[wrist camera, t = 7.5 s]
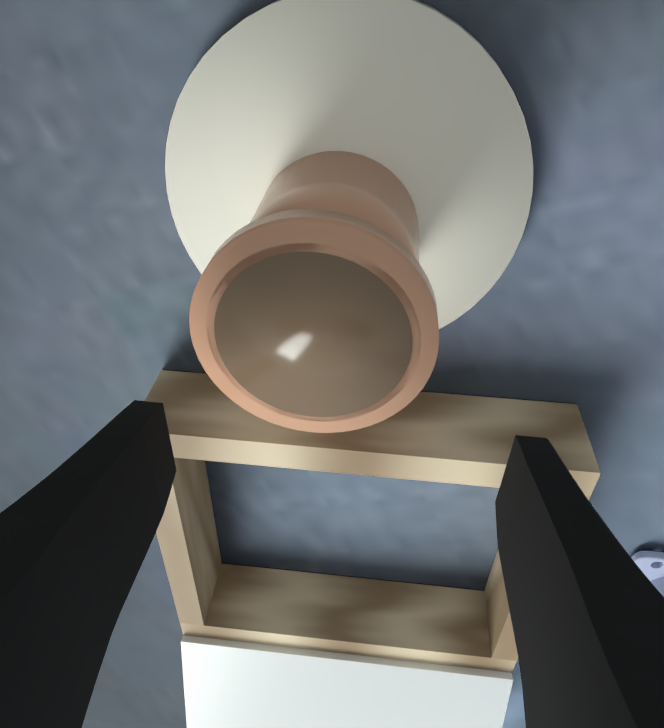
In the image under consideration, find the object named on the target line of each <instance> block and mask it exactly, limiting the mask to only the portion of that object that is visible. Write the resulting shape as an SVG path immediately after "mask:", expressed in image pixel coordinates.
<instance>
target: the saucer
mask: <svg viewBox="0 0 664 728" xmlns="http://www.w3.org/2000/svg"><path fill="white" fill-rule="evenodd" d="M325 151H345V152H352V153H356V154H360V155H363V156H366V157H368V158H371V159H373V160H375V161H377V162H378V163H380V164H382V165H383V166H385V167H386V168H387V169H389V170H390V171H391V172H392V173H393V174H394V175H395V176H396V177H397V178H398V179H399V180H400V181H401V182H402V184H403V185H404V186H405V187H406V189H407V191H408V193H409V194H410V196H411V198H412V201H413V203H414V206H415V209H416V213H417V217H418V229H419V264H420V265H421V267H422V269H423V270H424V272H425V274H426V275H427V277H428V279H429V282H430V284H431V286H432V289H433V291H434V295H435V299H436V303H437V313H438V326H439V329H441V328H442V327H444V326H446V325H448V324H449V323H451V322H453V321H455V320H456V319H457V318H459V317H460V316H461V315H463V314H464V313H465V312H467V311H468V310H469V309H471V308H472V307H473V306H474V305H475V304H476V303H477V302H478V301H479V300H480V299H481V298H482V297H483V296H484V295H486V294H487V292H488V291H489V290H490V289H491V288H492V286H493V285H494V284H495V283H496V281H497V280H498V279H499V278H500V277H501V275H502V273H503V272H504V270H505V269H506V267H507V266H508V264H509V262H510V261H511V259H512V258H513V255H514V253H515V251H516V249H517V247H518V245H519V242H520V240H521V238H522V235H523V232H524V229H525V226H526V222H527V219H528V216H529V211H530V205H531V199H532V193H533V158H532V149H531V141H530V137H529V133H528V130H527V126H526V122H525V118H524V115H523V113H522V110H521V108H520V106H519V103H518V101H517V99H516V96H515V94H514V92H513V90H512V88H511V86H510V85H509V83H508V81H507V80H506V78H505V77H504V75H503V73H502V72H501V70H500V68H499V67H498V65H497V63H496V62H495V61H494V59H493V58H492V57H491V56H490V55H489V53H488V52H487V51H486V50H485V49H484V47H483V46H482V45H481V44H480V43H479V41H477V40H476V39H475V38H474V37H473V36H472V35H471V34H470V33H468V32H467V31H466V30H465V29H464V28H463V27H462V26H461V25H459V24H458V23H457V22H455V21H454V20H452V19H451V18H449V17H448V16H446V15H444V14H443V13H441V12H440V11H438V10H437V9H435V8H433V7H431V6H429V5H427V4H424V3H422V2H420V1H418V0H278V1H275V2H273V3H271V4H269V5H267V6H266V7H264V8H262V9H260V10H258V11H257V12H255V13H253V14H251V15H250V16H248V17H246V18H245V19H243V20H242V21H241V22H240V23H238V24H237V25H236V26H234V27H233V28H232V29H231V30H229V31H228V32H227V33H225V34H224V35H223V36H222V37H221V38H220V39H219V40H218V41H217V42H216V43H215V44H214V45H213V46H212V47H211V48H210V49H209V51H208V52H207V53H206V54H205V55H204V56H203V57H202V59H201V60H200V62H199V63H198V65H197V66H196V68H195V69H194V70H193V72H192V73H191V75H190V76H189V78H188V80H187V82H186V84H185V86H184V88H183V90H182V92H181V94H180V96H179V98H178V101H177V104H176V107H175V110H174V113H173V116H172V119H171V122H170V127H169V133H168V138H167V144H166V159H165V175H166V186H167V195H168V199H169V204H170V208H171V213H172V216H173V219H174V222H175V225H176V228H177V230H178V233H179V236H180V238H181V240H182V242H183V244H184V246H185V248H186V250H187V252H188V254H189V256H190V257H191V259H192V260H193V262H194V264H195V265H196V267H197V268H198V270H199V271H200V273H201V274H202V273H203V272H204V270H205V268H206V267H207V265H208V263H209V262H210V260H211V258H212V257H213V255H214V254H215V252H216V251H217V249H218V248H219V247H220V246H221V245H222V244H223V243H224V242H225V240H226V239H228V238H229V237H230V236H231V235H232V234H234V233H235V232H236V231H237V230H239V229H241V228H242V227H244V226H245V225H247V224H249V223H250V221H251V219H252V218H253V216H254V214H255V212H256V210H257V208H258V206H259V204H260V202H261V200H262V199H263V197H264V195H265V193H266V191H267V189H268V187H269V186H270V184H271V183H272V181H273V180H274V179H275V178H276V177H277V175H278V174H279V173H280V172H281V171H283V170H284V169H285V168H286V167H287V166H289V165H290V164H292V163H293V162H295V161H296V160H299V159H301V158H303V157H305V156H308V155H311V154H315V153H319V152H325Z"/></svg>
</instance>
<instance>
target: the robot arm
mask: <svg viewBox="0 0 664 728" xmlns="http://www.w3.org/2000/svg"><path fill="white" fill-rule="evenodd" d="M176 471H177V470H176V465H175V460H174V455H173V450H172V445H171V440H170V435H169V430H168V425H167V420H166V416H165V411H164V406H163V403H159V402H148V401H137V400H134V401H133V402H132V403H131V404H130V405H129V406H127V407H126V408H125V409H124V410H123V411H122V412H120V413H119V414H118V415H117V416H116V417H115V418H114V419H113V420H112V421H110V422H109V423H108V424H107V425H106V426H105V427H104V428H103V429H102V430H100V431H99V432H98V433H97V434H96V435H95V436H94V437H93V438H92V439H90V440H89V441H88V442H87V443H86V444H85V445H84V446H83V447H81V448H80V449H79V450H78V451H77V452H76V453H74V454H73V455H72V456H71V457H70V458H69V459H67V460H66V461H65V462H64V463H63V464H62V465H60V466H59V467H58V468H57V469H56V470H55V471H53V472H52V473H51V474H50V475H49V476H47V477H46V478H45V479H44V480H42V481H41V482H40V483H39V484H37V485H36V486H35V487H34V488H32V489H31V490H30V491H29V492H27V493H26V494H25V495H23V496H22V497H21V498H20V499H18V500H17V501H16V502H15V503H13V504H12V505H11V506H9V507H8V508H7V509H5V510H4V511H3V512H1V513H0V728H81V727H82V724H83V721H84V718H85V714H86V711H87V708H88V705H89V702H90V698H91V695H92V692H93V689H94V685H95V682H96V679H97V676H98V673H99V670H100V667H101V664H102V661H103V658H104V655H105V652H106V649H107V646H108V643H109V640H110V637H111V634H112V632H113V629H114V627H115V624H116V622H117V619H118V617H119V614H120V612H121V609H122V607H123V605H124V603H125V600H126V598H127V596H128V594H129V591H130V589H131V587H132V585H133V582H134V580H135V578H136V576H137V573H138V571H139V569H140V567H141V565H142V562H143V560H144V558H145V556H146V553H147V551H148V549H149V547H150V544H151V542H152V540H153V537H154V535H155V533H156V531H157V528H158V526H159V524H160V521H161V519H162V517H163V514H164V511H165V508H166V505H167V501H168V498H169V495H170V492H171V488H172V485H173V481H174V478H175V474H176ZM495 505H496V523H497V538H498V551H499V556H500V562H501V567H502V573H503V578H504V584H505V589H506V595H507V600H508V605H509V611H510V616H511V621H512V626H513V632H514V637H515V642H516V648H517V653H518V658H519V665H520V672H521V679H522V688H523V699H524V710H525V721H526V728H664V552H655V551H639V552H637V553H635V554H634V555H633V556H632V558H631V557H630V556H629V555H628V553H627V552H626V551H625V549H624V548H623V547H622V545H621V544H620V543H619V542H618V540H617V539H616V538H615V536H614V535H613V534H612V532H611V531H610V529H609V528H608V527H607V525H606V524H605V523H604V521H603V520H602V518H601V517H600V516H599V514H598V513H597V512H596V510H595V509H594V507H593V506H592V505H591V503H590V502H589V500H588V499H587V497H586V496H585V494H584V493H583V491H582V490H581V488H580V487H579V485H578V484H577V483H576V481H575V480H574V478H573V476H572V475H571V473H570V472H569V470H568V469H567V467H566V466H565V464H564V463H563V461H562V460H561V458H560V456H559V455H558V453H557V452H556V450H555V449H554V447H553V445H552V444H551V442H550V441H549V440H548V439H547V438H542V437H531V436H520V435H515V438H514V442H513V445H512V448H511V452H510V455H509V458H508V462H507V465H506V468H505V472H504V475H503V478H502V482H501V485H500V488H499V492H498V495H497V498H496V502H495Z"/></svg>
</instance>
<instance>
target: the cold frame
mask: <svg viewBox="0 0 664 728" xmlns="http://www.w3.org/2000/svg"><path fill="white" fill-rule="evenodd" d="M145 401H148V402H159V403H163V406H164V411H165V416H166V420H167V425H168V430H169V435H170V440H171V445H172V450H173V455H174V460H175V465H176V470H177V471H176V474H175V478H174V481H173V485H172V488H171V492H170V495H169V498H168V501H167V505H166V508H165V511H164V514H163V517H162V519H161V521H160V524H159V526H158V528H157V531H156V534H157V538H158V541H159V545H160V549H161V553H162V556H163V560H164V564H165V568H166V572H167V575H168V579H169V583H170V587H171V590H172V594H173V598H174V602H175V606H176V609H177V613H178V617H179V621H180V624H181V628H182V632H183V637H182V640H181V652H182V666H183V680H184V694H185V708H186V722H187V728H502V726H503V722H504V718H505V713H506V709H507V705H508V700H509V696H510V692H511V688H512V683H513V676H512V671H513V669H514V667H515V664H516V662H517V660H518V653H517V648H516V642H515V637H514V632H513V626H512V621H511V616H510V611H509V605H508V600H507V595H506V589H505V584H504V578H503V573H502V567H501V562H500V556H499V551H498V550H497V553H496V556H495V559H494V562H493V565H492V568H491V571H490V574H489V577H488V581H487V584H486V587H485V590H484V591H479V590H470V589H460V588H451V587H441V586H432V585H422V584H413V583H403V582H394V581H384V580H375V579H365V578H356V577H346V576H337V575H327V574H318V573H308V572H299V571H289V570H280V569H270V568H261V567H251V566H242V565H232V564H223V563H222V562H221V556H220V550H219V544H218V538H217V531H216V525H215V519H214V513H213V507H212V501H211V494H210V488H209V482H208V476H207V470H206V463H205V460H206V461H217V462H228V463H238V464H249V465H260V466H271V467H281V468H292V469H303V470H314V471H324V472H335V473H346V474H357V475H367V476H378V477H389V478H399V479H410V480H421V481H432V482H442V483H453V484H464V485H475V486H485V487H496V488H500V485H501V482H502V478H503V475H504V472H505V468H506V465H507V462H508V458H509V455H510V452H511V448H512V445H513V442H514V438H515V435H520V436H531V437H542V438H547V439H548V440H549V441H550V442H551V444H552V445H553V447H554V449H555V450H556V452H557V453H558V455H559V456H560V458H561V460H562V461H563V463H564V464H565V466H566V467H567V469H568V470H569V472H570V473H571V475H572V476H573V478H574V480H575V481H576V483H577V484H578V485H579V487H580V488H581V490H582V491H583V493H584V494H585V496H586V497H587V499H588V500H589V499H590V496H591V494H592V492H593V490H594V487H595V485H596V483H597V481H598V478H599V476H600V474H601V472H600V469H599V466H598V463H597V460H596V457H595V454H594V451H593V449H592V446H591V443H590V440H589V437H588V434H587V431H586V428H585V425H584V422H583V419H582V416H581V413H580V410H579V408H578V405H577V404H566V403H554V402H542V401H530V400H518V399H506V398H494V397H482V396H469V395H457V394H445V393H433V392H421V391H420V392H419V394H418V395H417V396H416V397H415V398H414V399H413V400H412V401H411V402H410V403H409V404H408V405H407V406H406V407H404V408H403V409H402V410H400V411H399V412H397V413H396V414H394V415H393V416H391V417H389V418H387V419H385V420H383V421H381V422H379V423H376V424H373V425H371V426H368V427H364V428H361V429H357V430H352V431H345V432H335V433H315V432H306V431H299V430H294V429H290V428H286V427H282V426H279V425H276V424H273V423H270V422H268V421H266V420H263V419H261V418H259V417H257V416H255V415H253V414H251V413H250V412H248V411H246V410H244V409H243V408H242V407H240V406H239V405H237V404H236V403H235V402H233V401H232V400H231V399H230V398H229V397H227V396H226V395H225V394H224V393H223V392H222V391H221V390H220V389H219V388H218V387H217V386H216V385H215V384H214V382H213V381H212V380H211V378H210V377H209V376H208V374H203V373H191V372H179V371H167V370H161V372H160V374H159V376H158V378H157V380H156V382H155V383H154V385H153V387H152V389H151V391H150V393H149V395H148V396H147V398H146V400H145Z"/></svg>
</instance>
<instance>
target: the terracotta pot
mask: <svg viewBox="0 0 664 728" xmlns="http://www.w3.org/2000/svg"><path fill="white" fill-rule="evenodd" d="M189 324H190V334H191V338H192V343H193V347H194V349H195V352H196V354H197V357H198V359H199V361H200V363H201V365H202V366H203V368H204V370H205V372H206V373H207V374H208V376H209V377H210V378H211V380H212V381H213V382H214V384H215V385H216V386H217V387H218V388H219V389H220V390H221V391H222V392H223V393H224V394H225V395H226V396H227V397H229V398H230V399H231V400H232V401H233V402H235V403H236V404H237V405H239V406H240V407H242V408H243V409H244V410H246V411H248V412H250V413H251V414H253V415H255V416H257V417H259V418H261V419H263V420H266V421H268V422H270V423H273V424H276V425H279V426H282V427H286V428H290V429H294V430H299V431H306V432H315V433H335V432H345V431H352V430H357V429H361V428H364V427H368V426H371V425H373V424H376V423H379V422H381V421H383V420H385V419H387V418H389V417H391V416H393V415H394V414H396V413H397V412H399V411H400V410H402V409H403V408H404V407H406V406H407V405H408V404H409V403H410V402H411V401H412V400H413V399H414V398H415V397H416V396H417V395H418V394H419V392H420V391H421V390H422V389H423V388H424V386H425V384H426V383H427V381H428V379H429V378H430V376H431V373H432V371H433V368H434V366H435V363H436V359H437V355H438V349H439V326H438V313H437V303H436V299H435V295H434V291H433V289H432V286H431V284H430V282H429V279H428V277H427V275H426V274H425V272H424V270H423V269H422V267H421V265H420V264H419V229H418V217H417V213H416V209H415V206H414V203H413V201H412V198H411V196H410V194H409V193H408V191H407V189H406V187H405V186H404V185H403V184H402V182H401V181H400V180H399V179H398V178H397V177H396V176H395V175H394V174H393V173H392V172H391V171H390V170H389V169H387V168H386V167H385V166H383V165H382V164H380V163H378V162H377V161H375V160H373V159H371V158H368V157H366V156H363V155H360V154H356V153H352V152H345V151H325V152H319V153H315V154H311V155H308V156H305V157H303V158H301V159H299V160H296V161H295V162H293V163H292V164H290V165H289V166H287V167H286V168H285V169H284V170H283V171H281V172H280V173H279V174H278V175H277V177H276V178H275V179H274V180H273V181H272V183H271V184H270V186H269V187H268V189H267V191H266V193H265V195H264V197H263V199H262V200H261V202H260V204H259V206H258V208H257V210H256V212H255V214H254V216H253V218H252V219H251V221H250V223H249V224H247V225H245V226H244V227H242V228H241V229H239V230H237V231H236V232H235V233H234V234H232V235H231V236H230V237H229V238H228V239H226V240H225V242H224V243H223V244H222V245H221V246H220V247H219V248H218V249H217V251H216V252H215V254H214V255H213V257H212V258H211V260H210V262H209V263H208V265H207V267H206V268H205V270H204V272H203V273H202V275H201V277H200V279H199V280H198V283H197V285H196V288H195V290H194V292H193V296H192V300H191V305H190V315H189Z"/></svg>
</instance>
